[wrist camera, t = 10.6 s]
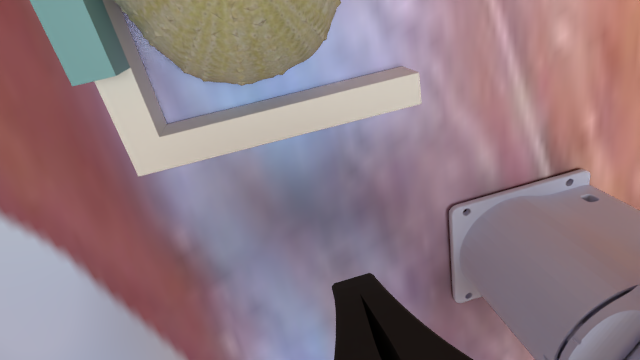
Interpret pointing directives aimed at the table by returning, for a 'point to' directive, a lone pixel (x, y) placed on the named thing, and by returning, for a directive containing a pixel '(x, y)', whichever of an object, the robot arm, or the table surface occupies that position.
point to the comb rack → (211, 129)
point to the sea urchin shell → (233, 34)
